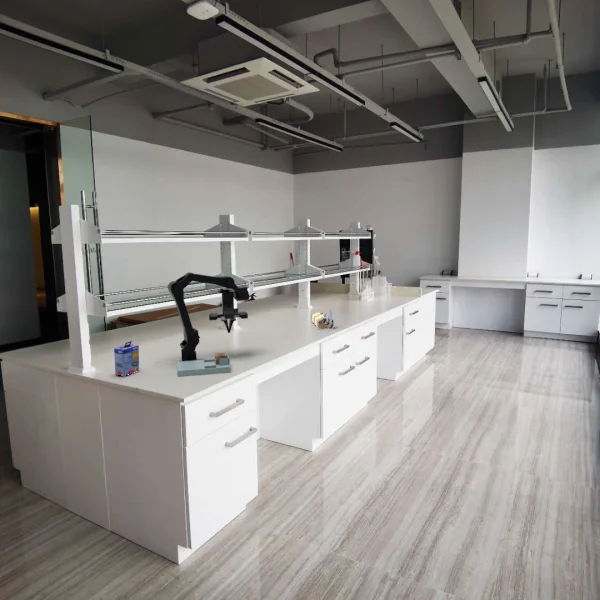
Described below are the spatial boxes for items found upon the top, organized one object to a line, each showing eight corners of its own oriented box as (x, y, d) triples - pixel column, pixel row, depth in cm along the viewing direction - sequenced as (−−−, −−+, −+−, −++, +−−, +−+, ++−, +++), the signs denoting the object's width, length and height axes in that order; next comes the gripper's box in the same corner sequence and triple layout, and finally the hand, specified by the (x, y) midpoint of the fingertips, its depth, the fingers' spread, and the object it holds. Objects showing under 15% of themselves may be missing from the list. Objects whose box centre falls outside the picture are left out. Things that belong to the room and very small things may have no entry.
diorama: (333, 329, 290) (333, 309, 288) (318, 330, 288) (318, 310, 287) (325, 322, 315) (325, 303, 313) (310, 323, 313) (310, 304, 311)
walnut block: (215, 364, 202) (215, 356, 202) (215, 361, 207) (215, 353, 207) (227, 363, 204) (226, 355, 203) (226, 361, 208) (226, 352, 208)
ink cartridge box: (124, 377, 194) (122, 344, 192) (114, 376, 196) (112, 343, 194) (140, 371, 203) (138, 339, 201) (130, 369, 205) (128, 338, 203)
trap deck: (177, 376, 194) (177, 364, 193) (178, 366, 208) (178, 355, 208) (230, 372, 199) (230, 360, 198) (227, 363, 214) (227, 352, 213)
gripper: (209, 305, 212) (210, 337, 215) (248, 303, 217) (249, 335, 219) (208, 301, 223) (209, 332, 225) (246, 300, 227) (246, 330, 230)
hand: (228, 332), depth 224 cm, fingers closed
